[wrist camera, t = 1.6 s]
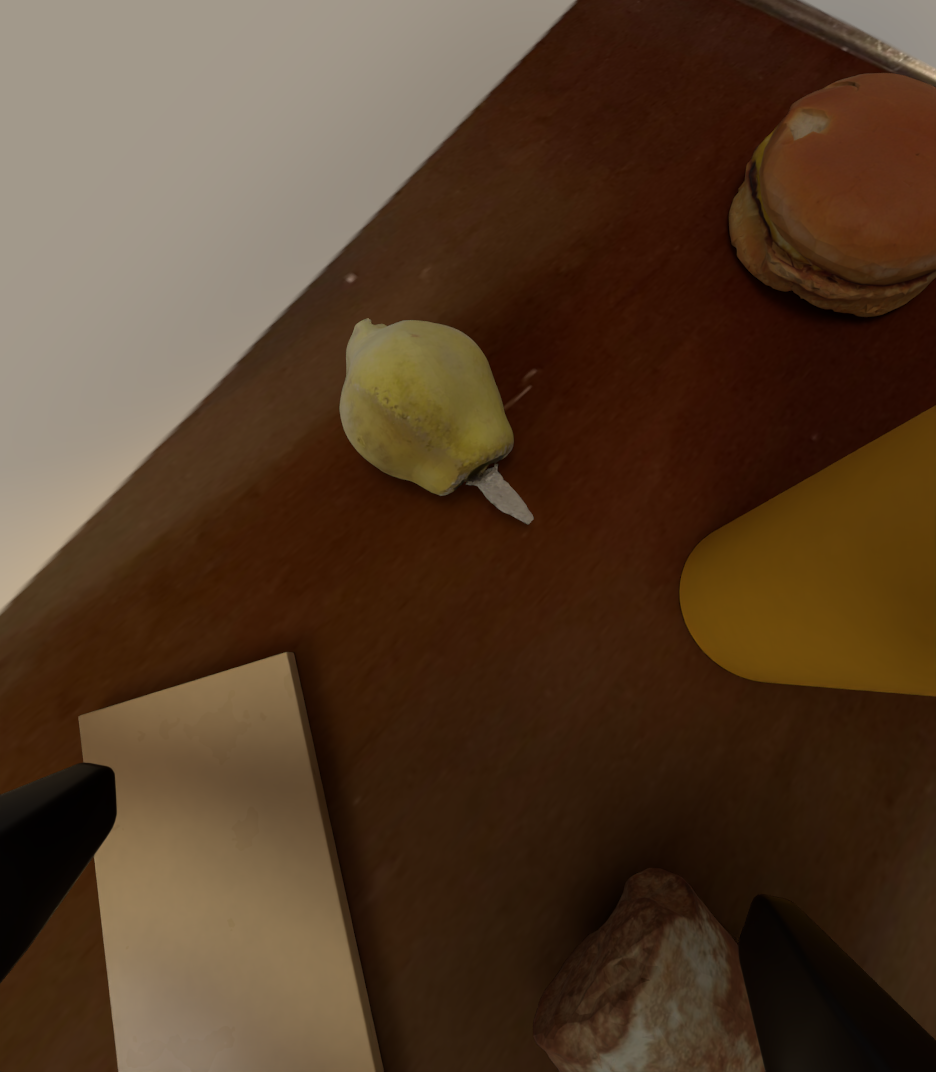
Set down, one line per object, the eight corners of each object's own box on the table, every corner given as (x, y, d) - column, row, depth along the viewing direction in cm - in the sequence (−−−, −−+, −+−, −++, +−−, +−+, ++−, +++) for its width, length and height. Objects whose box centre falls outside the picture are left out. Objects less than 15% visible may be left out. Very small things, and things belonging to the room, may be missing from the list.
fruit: (479, 581, 21) (297, 427, 22) (554, 488, 24) (391, 352, 24) (530, 530, 16) (290, 328, 16) (620, 418, 19) (410, 246, 19)
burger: (945, 326, 23) (1056, 244, 19) (731, 320, 24) (789, 239, 19) (914, 151, 25) (1006, 40, 21) (720, 149, 26) (769, 40, 21)
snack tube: (876, 655, 20) (1925, 645, 5) (715, 707, 20) (1357, 841, 5) (800, 500, 22) (1458, 164, 7) (651, 546, 21) (1005, 301, 7)
